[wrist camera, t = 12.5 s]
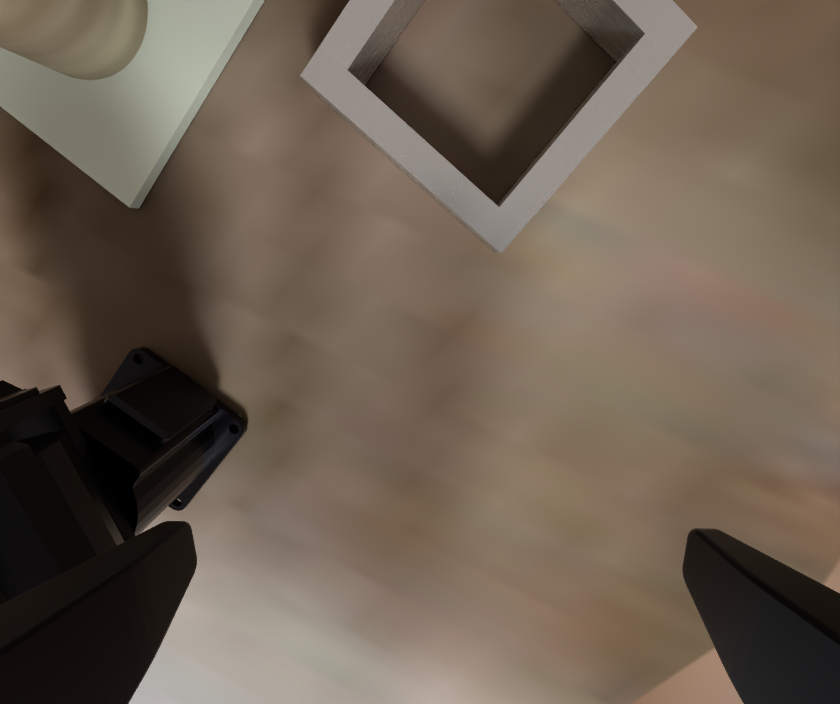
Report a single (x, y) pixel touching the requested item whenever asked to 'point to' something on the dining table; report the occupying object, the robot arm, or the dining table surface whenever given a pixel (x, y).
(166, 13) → the sage board
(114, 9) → the maple peg
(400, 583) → the dining table surface
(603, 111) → the grey square frame
